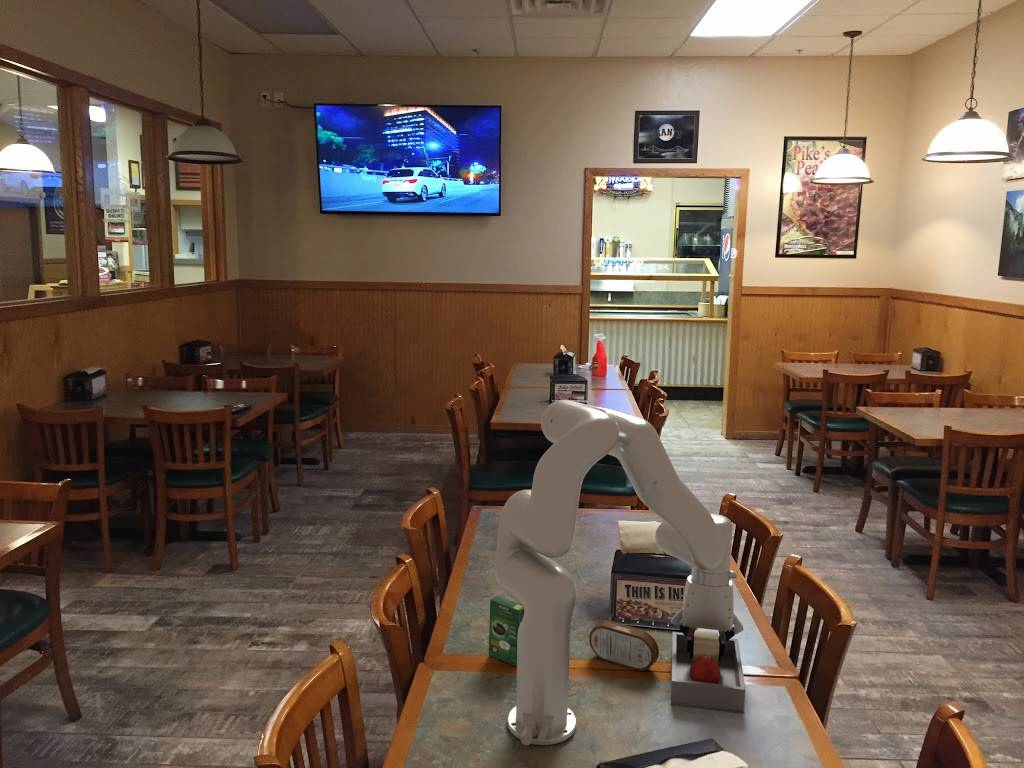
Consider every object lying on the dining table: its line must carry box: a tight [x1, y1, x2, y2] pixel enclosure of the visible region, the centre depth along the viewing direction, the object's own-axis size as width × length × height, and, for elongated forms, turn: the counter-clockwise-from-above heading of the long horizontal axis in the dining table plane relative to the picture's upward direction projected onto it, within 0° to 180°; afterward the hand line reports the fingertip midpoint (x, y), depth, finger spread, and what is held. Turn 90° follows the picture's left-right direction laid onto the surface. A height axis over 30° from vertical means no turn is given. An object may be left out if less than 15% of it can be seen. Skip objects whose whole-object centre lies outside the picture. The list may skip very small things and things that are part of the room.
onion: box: [690, 653, 721, 684], centre depth 157 cm, size 6×6×8 cm
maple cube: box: [693, 629, 719, 664], centre depth 166 cm, size 5×5×5 cm
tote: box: [670, 631, 746, 715], centre depth 161 cm, size 20×14×5 cm
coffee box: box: [488, 595, 524, 668], centre depth 168 cm, size 8×3×13 cm, turn 54°
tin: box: [588, 619, 660, 672], centre depth 167 cm, size 15×3×8 cm, turn 59°
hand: (705, 655), depth 166 cm, fingers closed on maple cube, 4 cm apart
